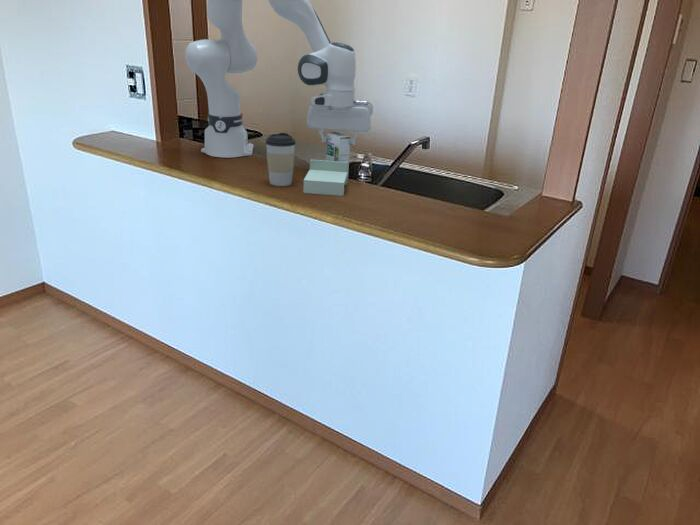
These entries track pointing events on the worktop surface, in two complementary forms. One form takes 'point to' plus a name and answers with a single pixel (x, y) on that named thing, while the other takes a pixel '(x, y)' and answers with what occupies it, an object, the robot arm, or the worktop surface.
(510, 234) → the worktop surface
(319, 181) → the shelf
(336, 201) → the worktop surface
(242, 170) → the worktop surface
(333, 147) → the syrup box
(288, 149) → the coffee cup
